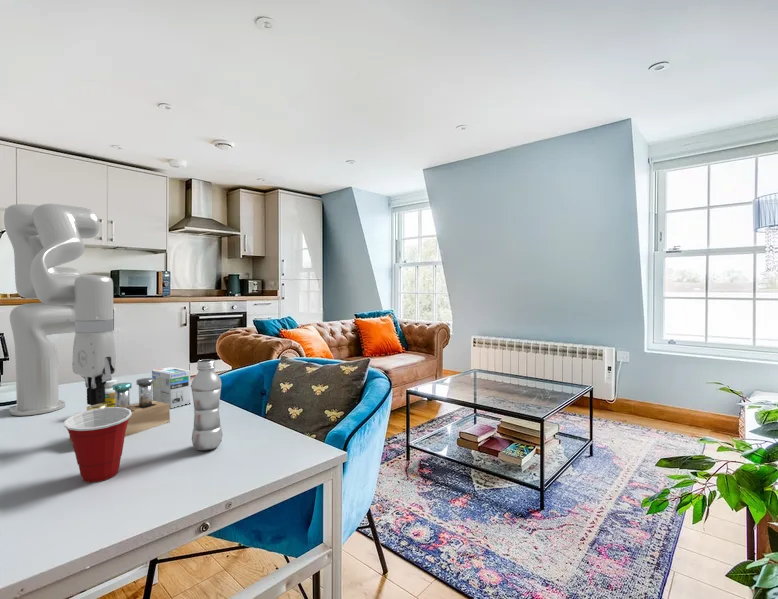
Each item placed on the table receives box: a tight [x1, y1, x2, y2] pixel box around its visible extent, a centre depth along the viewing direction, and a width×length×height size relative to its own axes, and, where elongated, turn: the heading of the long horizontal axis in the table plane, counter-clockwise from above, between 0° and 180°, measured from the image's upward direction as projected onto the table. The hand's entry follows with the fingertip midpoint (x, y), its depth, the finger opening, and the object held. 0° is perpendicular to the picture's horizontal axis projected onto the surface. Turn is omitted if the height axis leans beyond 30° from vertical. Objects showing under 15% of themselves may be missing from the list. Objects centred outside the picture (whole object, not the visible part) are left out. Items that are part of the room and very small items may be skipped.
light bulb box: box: [151, 366, 192, 409], centre depth 129 cm, size 11×7×11 cm, turn 58°
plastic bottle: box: [190, 358, 223, 451], centre depth 94 cm, size 6×7×20 cm
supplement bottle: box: [100, 379, 118, 407], centre depth 119 cm, size 5×5×10 cm
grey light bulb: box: [135, 377, 154, 409], centre depth 110 cm, size 4×4×8 cm
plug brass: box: [86, 404, 107, 411], centre depth 99 cm, size 4×4×8 cm
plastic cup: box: [63, 407, 132, 483], centre depth 80 cm, size 11×11×12 cm
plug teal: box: [113, 382, 132, 410], centre depth 104 cm, size 4×4×8 cm
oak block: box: [68, 399, 171, 444], centre depth 105 cm, size 8×20×5 cm, turn 154°
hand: (96, 403), depth 99 cm, fingers closed
